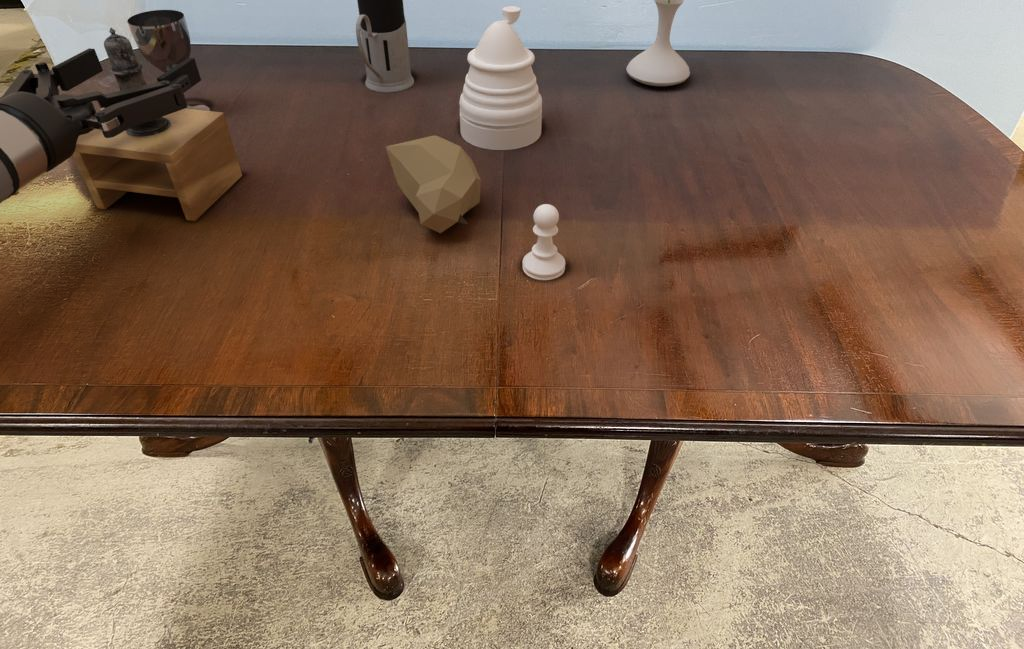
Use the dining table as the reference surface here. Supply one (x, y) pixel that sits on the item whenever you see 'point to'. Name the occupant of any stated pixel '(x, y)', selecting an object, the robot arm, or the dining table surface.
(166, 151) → the shelf
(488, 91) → the honey pot
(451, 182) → the low-poly potato
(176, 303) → the dining table surface
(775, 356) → the dining table surface
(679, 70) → the flower in vase
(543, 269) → the chess pawn
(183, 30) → the wine glass
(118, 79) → the grey chess piece
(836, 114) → the dining table surface
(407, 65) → the glass holder
